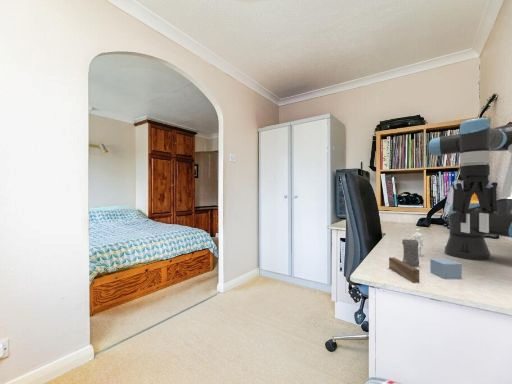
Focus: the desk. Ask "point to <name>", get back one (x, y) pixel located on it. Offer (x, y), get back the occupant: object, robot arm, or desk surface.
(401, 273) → the board
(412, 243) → the stone
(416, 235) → the action figure
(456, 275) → the block
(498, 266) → the desk surface
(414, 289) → the desk surface
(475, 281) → the desk surface
